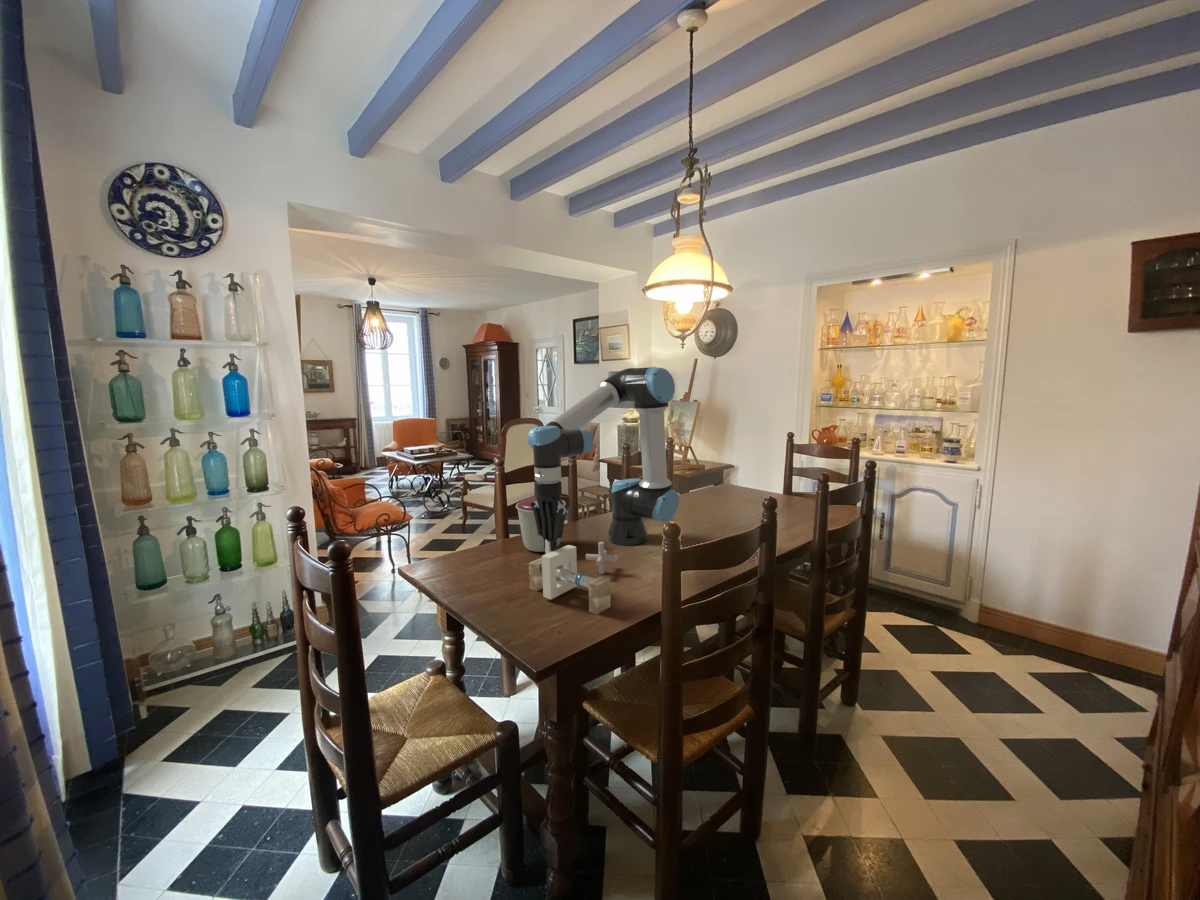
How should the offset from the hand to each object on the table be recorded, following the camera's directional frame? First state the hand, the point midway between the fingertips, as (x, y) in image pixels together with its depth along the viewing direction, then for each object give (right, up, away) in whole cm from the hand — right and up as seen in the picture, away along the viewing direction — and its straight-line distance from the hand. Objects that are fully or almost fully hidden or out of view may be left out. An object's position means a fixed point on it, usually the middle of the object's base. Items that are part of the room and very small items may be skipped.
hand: (550, 560), depth 138 cm
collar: (+3, -9, -1) cm, 9 cm away
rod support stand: (+5, -10, -3) cm, 11 cm away
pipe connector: (+15, -7, +14) cm, 22 cm away
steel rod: (+5, -5, -3) cm, 8 cm away
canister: (-7, -4, +38) cm, 39 cm away
